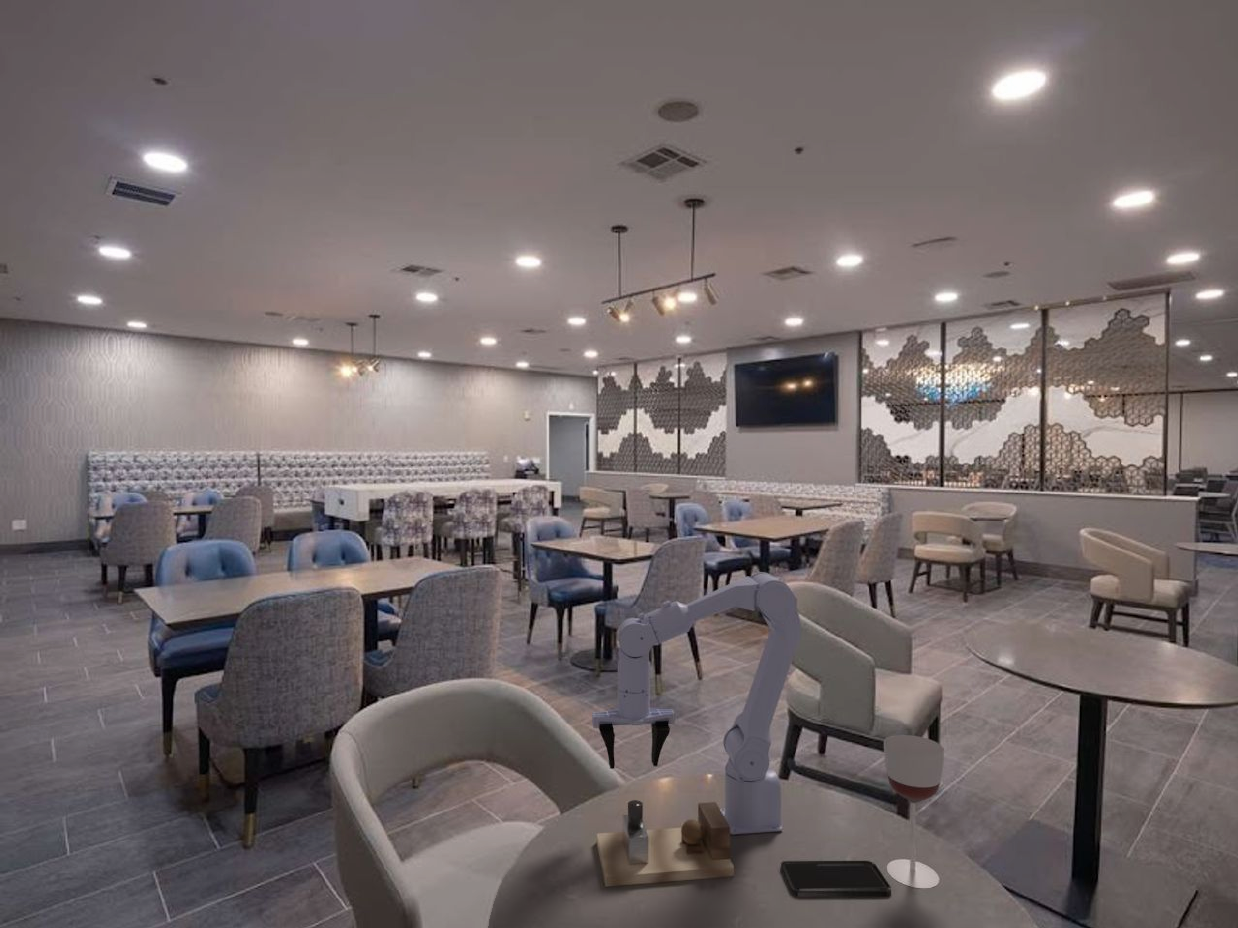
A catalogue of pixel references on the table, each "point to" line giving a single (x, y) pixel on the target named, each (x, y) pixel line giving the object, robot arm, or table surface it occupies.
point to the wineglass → (913, 795)
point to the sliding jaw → (635, 834)
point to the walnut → (692, 832)
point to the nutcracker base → (671, 853)
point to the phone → (835, 879)
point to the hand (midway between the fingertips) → (633, 764)
